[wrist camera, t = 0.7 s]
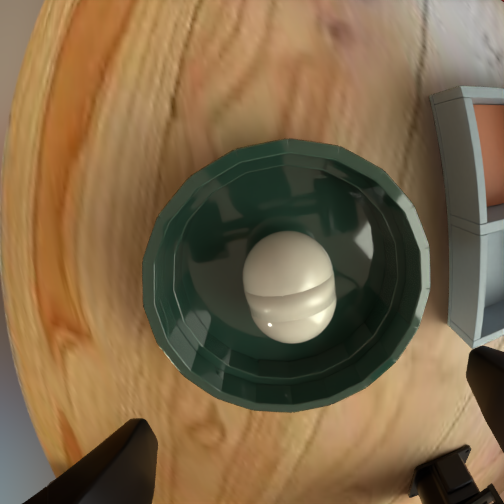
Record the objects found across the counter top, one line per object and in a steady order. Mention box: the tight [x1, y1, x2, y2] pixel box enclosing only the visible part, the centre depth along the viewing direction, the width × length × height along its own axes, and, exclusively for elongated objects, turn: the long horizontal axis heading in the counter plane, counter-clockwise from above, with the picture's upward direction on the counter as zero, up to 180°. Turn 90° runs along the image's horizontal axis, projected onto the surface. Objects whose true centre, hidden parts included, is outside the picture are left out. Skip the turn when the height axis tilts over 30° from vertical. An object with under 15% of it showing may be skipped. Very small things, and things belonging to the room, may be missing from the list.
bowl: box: [142, 138, 431, 413], centre depth 16 cm, size 13×13×4 cm
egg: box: [242, 231, 337, 344], centre depth 15 cm, size 5×4×4 cm
